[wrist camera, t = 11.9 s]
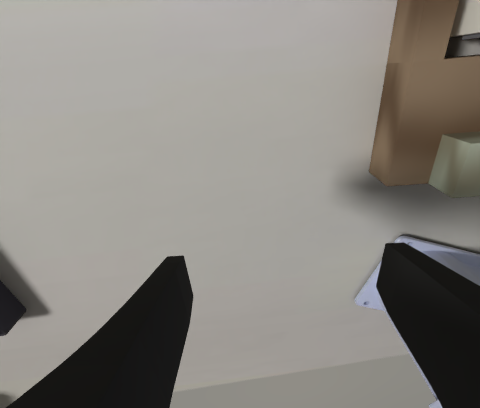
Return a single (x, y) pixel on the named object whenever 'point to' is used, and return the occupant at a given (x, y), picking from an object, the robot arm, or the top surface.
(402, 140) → the brown slotted block base
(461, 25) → the block
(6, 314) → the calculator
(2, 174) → the top surface
